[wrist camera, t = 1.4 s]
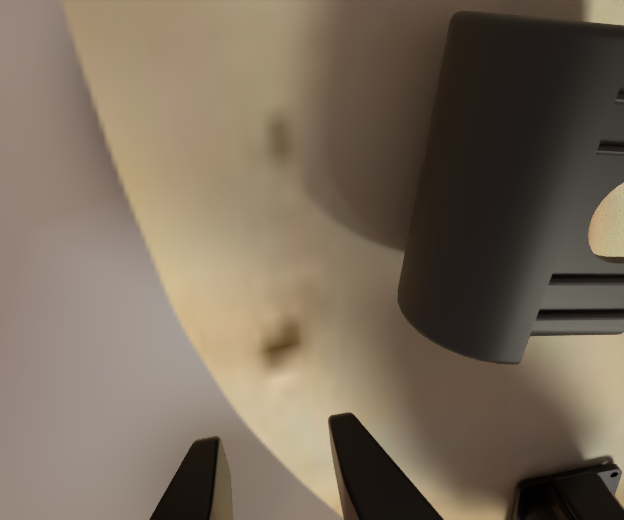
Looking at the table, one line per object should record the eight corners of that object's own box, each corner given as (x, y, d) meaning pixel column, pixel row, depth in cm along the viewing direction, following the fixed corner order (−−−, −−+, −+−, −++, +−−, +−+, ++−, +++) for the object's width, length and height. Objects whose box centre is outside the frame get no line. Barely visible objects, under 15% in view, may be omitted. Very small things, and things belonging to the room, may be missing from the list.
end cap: (417, 6, 16) (517, 15, 11) (605, 24, 18) (790, 41, 12) (374, 265, 21) (427, 371, 15) (525, 266, 22) (628, 365, 16)
